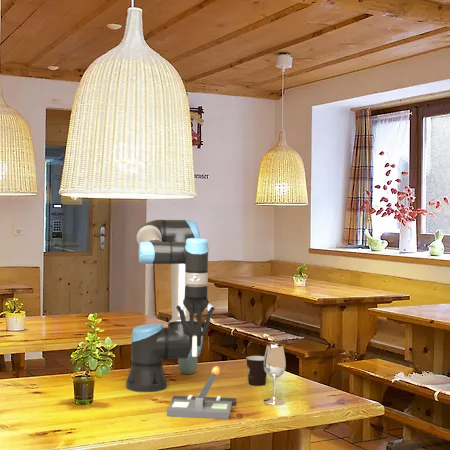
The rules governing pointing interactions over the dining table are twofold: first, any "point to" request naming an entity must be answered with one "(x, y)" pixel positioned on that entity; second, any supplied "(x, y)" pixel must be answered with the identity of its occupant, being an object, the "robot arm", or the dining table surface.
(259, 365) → the coffee mug
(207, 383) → the breaker lever
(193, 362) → the cup
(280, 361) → the wineglass
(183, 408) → the breaker panel
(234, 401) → the dressed cords
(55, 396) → the dining table surface
